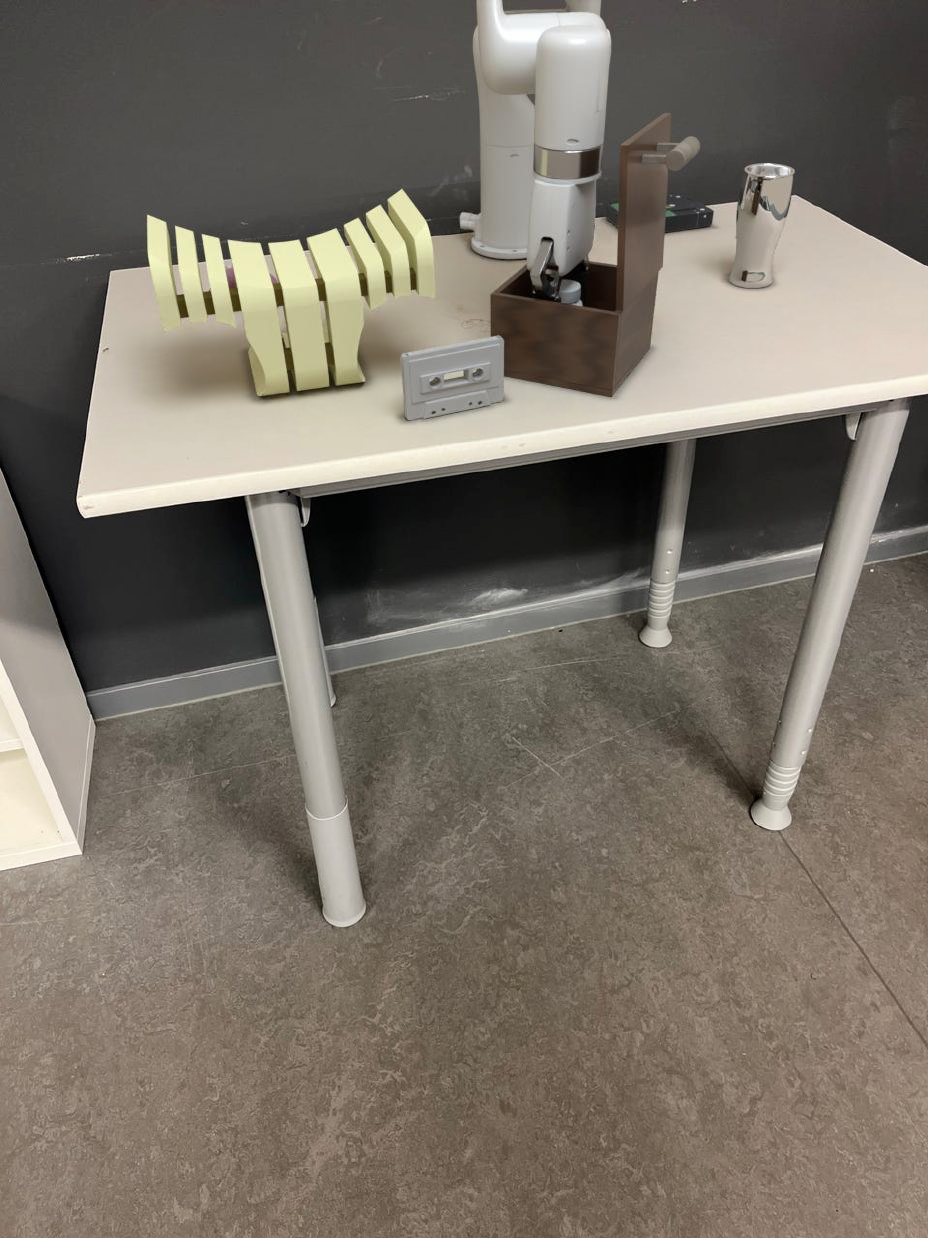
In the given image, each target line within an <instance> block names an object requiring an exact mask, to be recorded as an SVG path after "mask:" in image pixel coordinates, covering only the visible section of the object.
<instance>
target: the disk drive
mask: <svg viewBox="0 0 928 1238" xmlns="http://www.w3.org/2000/svg"><path fill="white" fill-rule="evenodd" d="M692 198H693V197H692V196H690V195H689V194H687V193H678V194H671V195H667V201H666V219H665V233H668V232H670V233H671V232H678V231H687V230H692V229H693V230H694V229H700V228H705V227H708V226H712V225H713V221H714V220H713V219H714V213H715V211H714V210H713V209H712V208H710V207H708V206H707V205H705V204H703V203H702V202H700V201H699V200H692ZM618 207H619V201H614V202H607V203H606V210H605V211H606V212H605V213H606V214H605V218H606V219H607V220H608V221H609V222H610V223H612V224H613V225H615V226H616V227H617V228H618Z"/></svg>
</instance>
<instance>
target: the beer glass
mask: <svg viewBox="0 0 928 1238" xmlns="http://www.w3.org/2000/svg"><path fill="white" fill-rule="evenodd" d="M795 171H796V170H795V169H794V168H793V167H791V166H788V165H785V164H780V163H771V162H764V163H763V162H762V163H754V164H750V165H746V166H745V167H744V171H743V175H742V180H741V184H740V188H739V193H738V198H737V205H736V212H735V213H736V214H735V215H736V216H735V237H736V238H735V256H734V261H733V263H732V267H731V269H730V273H729V276H728V281H729V283H730V284H731V285H734V286H736V287H739V288H744V289H763V288H766V287H769V286H771V284H772V282H773V261H774V257H775V253H776V249H777V247H778V244H779V241H780V239H781V237H782V233H783V230H784V228H785V225H786V221H787V218H788V216H789V212H790V207H791V202H792V195H793V188H794V180H795V179H794V178H795V173H796V172H795Z"/></svg>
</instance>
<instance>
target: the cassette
mask: <svg viewBox="0 0 928 1238" xmlns="http://www.w3.org/2000/svg"><path fill="white" fill-rule="evenodd" d="M400 367H401V368H400V370H401V383H402V396H403V397H402V398H403V410H404V417H405V418H406V419H407V420H408V421H414V420H415V421H416V420H419V419H423V420H426V419H431V418H434V417H435V418H436V417H440V416H444V415H445V416H446V415H449V414H454V413H458V412H463V411H469V410H473V409H478V408H482V407H487V406H491V404H495V403H500V402H502V401H504V398H505V397H504V396H505V395H504V394H505V393H504V391H505V389H504V388H505V376H504V340H503V338H502V337H501V336H499V335H498V336H493V337H491V336H489V337H483V338H478V339H471V340H467V341H462V342H457V343H450V344H446V345H440V346H435V347H430V348H425V349H419V350H415V351H409V352H403V353H402V354H401V355H400ZM456 372H463V375H462V376H461V375H460V376H457V377H451V378H446V379H445V375H447V374H452V373H456Z"/></svg>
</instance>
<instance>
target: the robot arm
mask: <svg viewBox="0 0 928 1238" xmlns="http://www.w3.org/2000/svg"><path fill="white" fill-rule="evenodd" d="M564 1H565V4H566V6H565V8H551V9H536V8H535V9H515V10H514V9H513V10H504V7H503V0H476V23H477V24H476V26H475V29H474V32H473V35H472V57H473V64H474V71H475V79H476V86H477V96H478V110H479V111H478V112H479V166H480V168H479V169H480V170H479V173H480V175H479V177H480V178H479V179H480V181H479V182H480V212H479V213H478V214H474V213H472V212H464V211H462V212H461V213H460V215H459V226H460V227H459V228H460V229H461V230H467V231H468V230H471V231H473V232H474V235H473V236H472V238H471V240H470V241H471V245H470V246H471V249H472V250H473V251H474V252H475V253H477V254H478V255H480V256H484V257H487V258H490V259H499V260H522V259H526V264H527V269H528V270H529V271H531V272H530V277H531V280H532V283H533V284H532V288H533V297H534V299H540V300H546V301H552V302H558V303H561V298H558V295H559V291H560V287H561V282H562V280H573V281H576V282H578V283H579V284H580V285H581V295H580V300H581V301H582V304H583V305H584V304H585V303H586V294H587V279H588V272H584V271H587V270H588V268H589V261H590V257H589V254H590V253H591V250H592V249H593V247H594V246H593V245H594V240H595V239H594V238H595V231H596V230H595V229H596V211H597V210H596V209H597V180H599V179H600V178H601V177H602V169H603V155H604V142H605V129H606V127H605V126H606V117H607V116H606V115H607V99H608V90H609V89H608V87H609V73H610V65H611V64H610V63H611V57H612V35H611V33H610V30H609V29H608V28H607V26H606V24H605V21H604V20H603V18H602V17H601V10H602V9H601V8H602V0H564ZM528 95H534V103H533V102H532V101H531V99H530V97H528ZM548 265H552V266H558V270H552V269H547V267H548ZM546 276H550V277H555V279H554V283H553V287H552V286H551V284H550V282H549V281H547V280H546Z"/></svg>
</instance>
